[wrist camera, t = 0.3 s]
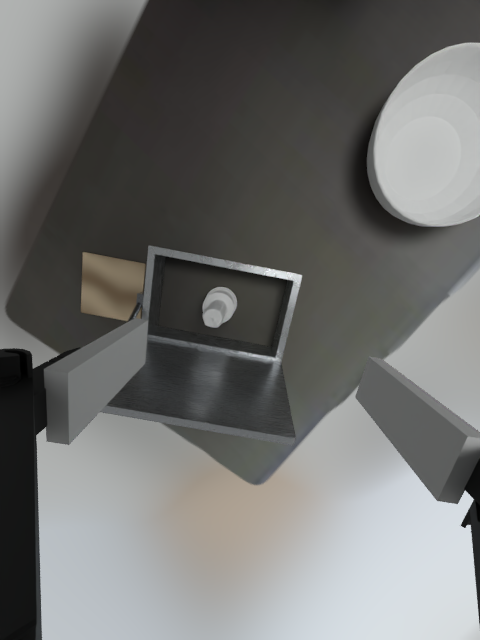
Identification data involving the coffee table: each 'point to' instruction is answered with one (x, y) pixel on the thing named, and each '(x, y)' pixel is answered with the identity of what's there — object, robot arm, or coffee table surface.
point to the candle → (218, 306)
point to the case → (209, 367)
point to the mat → (111, 286)
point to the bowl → (430, 141)
